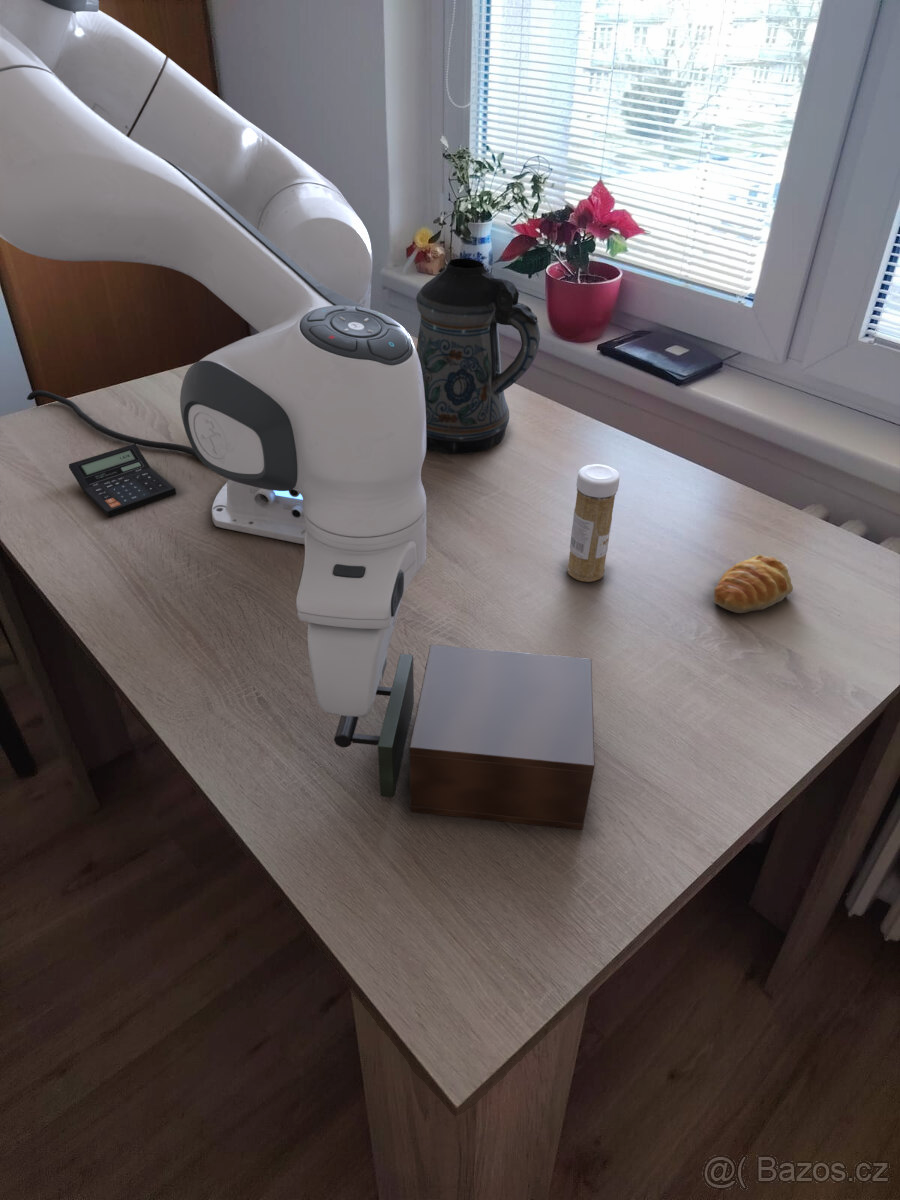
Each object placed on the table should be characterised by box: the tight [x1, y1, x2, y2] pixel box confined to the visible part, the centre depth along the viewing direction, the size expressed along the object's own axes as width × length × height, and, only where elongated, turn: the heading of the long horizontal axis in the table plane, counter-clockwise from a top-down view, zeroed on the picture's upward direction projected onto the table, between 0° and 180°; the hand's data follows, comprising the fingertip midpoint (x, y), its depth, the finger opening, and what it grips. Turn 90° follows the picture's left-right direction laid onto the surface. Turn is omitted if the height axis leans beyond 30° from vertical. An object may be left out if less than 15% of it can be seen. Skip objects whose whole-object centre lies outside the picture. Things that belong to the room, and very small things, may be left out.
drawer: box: [333, 653, 427, 799], centre depth 73 cm, size 18×11×6 cm, turn 83°
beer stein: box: [415, 258, 541, 455], centre depth 120 cm, size 16×19×25 cm
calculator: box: [68, 443, 177, 518], centre depth 111 cm, size 9×12×3 cm
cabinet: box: [408, 644, 596, 831], centre depth 72 cm, size 15×13×8 cm
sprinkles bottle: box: [566, 463, 621, 583], centre depth 94 cm, size 5×5×14 cm
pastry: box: [713, 554, 794, 615], centre depth 94 cm, size 9×7×4 cm
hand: (373, 674), depth 70 cm, fingers closed
